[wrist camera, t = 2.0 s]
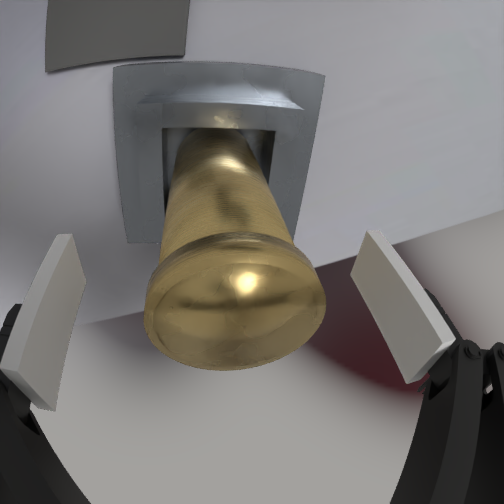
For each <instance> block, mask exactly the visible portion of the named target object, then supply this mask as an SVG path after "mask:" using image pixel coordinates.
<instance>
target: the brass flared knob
mask: <svg viewBox="0 0 504 504" xmlns="http://www.w3.org/2000/svg"><path fill="white" fill-rule="evenodd" d="M325 309H326V297H325V293H324V290H323V288H322V285H321V283H320V281H319V278H318V276H317V274H316V272H315V270H314V268H313V266H312V264H311V262H310V260H309V259H308V258H307V257H306V255H305V254H304V253H302V252H301V251H300V250H299V249H298V248H297V247H295V245H294V243H293V241H292V238H291V236H290V234H289V231H288V229H287V227H286V224H285V222H284V220H283V218H282V215H281V213H280V211H279V209H278V206H277V204H276V202H275V200H274V197H273V195H272V193H271V191H270V188H269V186H268V184H267V182H266V180H265V177H264V175H263V173H262V171H261V169H260V167H259V164H258V162H257V160H256V158H255V156H254V154H253V152H252V149H251V147H250V145H249V143H248V142H247V140H246V139H245V138H244V137H243V136H242V135H241V134H240V133H239V132H237V131H236V130H234V129H232V128H205V127H201V128H199V129H197V130H195V131H193V132H192V133H190V134H189V135H188V136H187V137H186V138H185V139H184V140H183V142H182V143H181V145H180V147H179V149H178V151H177V155H176V160H175V165H174V170H173V176H172V181H171V186H170V192H169V198H168V203H167V210H166V216H165V222H164V229H163V236H162V243H161V250H160V258H159V265H158V267H157V268H156V270H155V271H154V272H153V274H152V276H151V278H150V280H149V283H148V287H147V292H146V300H145V308H144V326H145V330H146V333H147V335H148V337H149V339H150V340H151V342H152V343H153V344H154V345H155V346H156V348H158V349H159V350H160V351H161V352H162V353H163V354H165V355H167V356H168V357H169V358H171V359H173V360H175V361H177V362H180V363H183V364H185V365H189V366H192V367H195V368H200V369H207V370H219V371H227V370H241V369H247V368H252V367H257V366H261V365H264V364H267V363H270V362H273V361H275V360H278V359H280V358H282V357H284V356H286V355H288V354H290V353H291V352H293V351H295V350H296V349H298V348H299V347H300V346H302V345H303V344H304V343H305V342H306V341H307V340H308V339H309V338H310V337H311V336H312V335H313V334H314V333H315V332H316V330H317V329H318V327H319V326H320V324H321V322H322V320H323V317H324V314H325Z"/></svg>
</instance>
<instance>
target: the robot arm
mask: <svg viewBox="0 0 504 504" xmlns="http://www.w3.org/2000/svg"><path fill="white" fill-rule="evenodd" d="M351 277H352V279H353V280H354V282H355V284H356V286H357V288H358V289H359V291H360V293H361V295H362V297H363V299H364V300H365V302H366V304H367V306H368V308H369V310H370V312H371V313H372V315H373V317H374V319H375V321H376V323H377V325H378V327H379V329H380V331H381V333H382V335H383V337H384V339H385V340H386V342H387V344H388V346H389V348H390V350H391V353H392V354H393V357H394V359H395V361H396V363H397V365H398V367H399V369H400V371H401V373H402V375H403V377H404V380H405V382H406V384H408V383H411V382H414V381H417V380H420V379H421V378H422V377H423V376H424V375H425V374H426V373H427V372H428V373H429V375H430V377H429V378H428V379H427V380H426V381H425V382H424V383H423V384H422V385H421V386H420V387H419V389H418V392H420V391H421V390H422V389H423V388H424V387H426V388H425V391H424V392H423V393H422V394H424V397H423V401H422V406H421V410H420V414H419V418H418V422H417V426H416V429H415V433H414V436H413V440H412V443H411V447H410V450H409V453H408V456H407V459H406V462H405V465H404V468H403V471H402V474H401V476H400V479H399V482H398V485H397V487H396V490H395V492H394V494H393V497H392V499H391V502H390V504H504V344H503V343H500V342H497V343H496V344H495V345H494V346H493V347H492V348H491V349H490V350H484V349H480V348H479V347H478V345H477V344H476V343H474V342H473V341H470V340H463V339H462V337H461V336H460V334H459V332H458V331H457V329H456V328H455V326H454V325H453V323H452V321H451V320H450V318H449V317H448V315H447V314H445V311H444V310H443V308H442V307H441V306H440V304H439V302H438V300H437V299H436V298H435V296H434V295H433V294H431V293H430V292H429V291H428V290H427V289H423V288H422V286H421V285H420V283H419V282H418V281H417V279H416V278H415V276H414V275H413V274H412V272H411V271H410V270H409V268H408V267H407V266H406V264H405V263H404V262H403V260H402V259H401V258H400V256H399V255H398V254H397V252H396V251H395V250H394V248H393V247H392V246H391V245H390V243H389V242H388V241H387V239H386V238H385V237H384V236H383V234H382V233H381V232H380V231H366V234H365V237H364V240H363V243H362V245H361V248H360V251H359V253H358V256H357V259H356V261H355V264H354V267H353V269H352V272H351ZM86 283H87V281H86V278H85V275H84V272H83V269H82V266H81V263H80V259H79V256H78V252H77V249H76V245H75V242H74V238H73V234H57V236H56V238H55V239H54V241H53V243H52V245H51V247H50V249H49V250H48V252H47V254H46V256H45V258H44V260H43V262H42V264H41V266H40V268H39V270H38V272H37V274H36V276H35V278H34V280H33V282H32V284H31V286H30V288H29V291H28V293H27V295H26V297H25V299H24V302H23V304H15V305H14V306H13V307H12V309H11V310H10V311H9V312H8V313H7V316H6V318H5V321H4V323H3V327H2V328H1V330H0V504H91V503H90V502H89V501H88V499H87V498H86V497H85V496H84V494H83V493H82V492H81V490H80V489H79V488H78V486H77V485H76V484H75V482H74V481H73V479H72V478H71V476H70V475H69V473H68V472H67V471H66V469H65V468H64V466H63V465H62V463H61V462H60V460H59V458H58V457H57V455H56V454H55V452H54V450H53V449H52V447H51V445H50V444H49V442H48V440H47V438H46V437H45V435H44V433H43V431H42V430H41V428H40V426H39V424H38V422H37V420H36V418H35V416H34V414H33V413H32V411H31V410H30V404H31V402H32V403H33V404H34V405H35V406H36V407H37V408H40V409H44V410H50V411H55V410H56V404H57V398H58V392H59V386H60V381H61V376H62V370H63V366H64V362H65V357H66V353H67V349H68V345H69V341H70V337H71V333H72V329H73V326H74V322H75V318H76V315H77V311H78V308H79V305H80V301H81V298H82V295H83V292H84V289H85V286H86ZM491 384H492V387H493V390H492V391H490V392H489V393H488V394H487V392H486V388H487V387H488V386H490V385H491Z"/></svg>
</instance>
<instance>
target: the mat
mask: <svg viewBox="0 0 504 504" xmlns="http://www.w3.org/2000/svg"><path fill="white" fill-rule="evenodd" d="M189 4H190V0H48V9H47V22H46V41H45V72H49V71H53V70H58V69H62V68H67V67H72V66H77V65H83V64H89V63H95V62H101V61H109V60H117V59H126V58H136V57H149V56H170V55H185V46H186V34H187V23H188V13H189Z"/></svg>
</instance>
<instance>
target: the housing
mask: <svg viewBox="0 0 504 504" xmlns="http://www.w3.org/2000/svg"><path fill="white" fill-rule="evenodd" d="M324 82H325V76H324V75H321V74H317V73H314V72H310V71H304V70H297V69H291V68H284V67H276V66H267V65H258V64H246V63H232V62H207V61H176V62H152V63H138V64H127V65H121V66H117V67H113V107H114V129H115V145H116V157H117V168H118V178H119V186H120V195H121V202H122V210H123V217H124V223H125V230H126V236H127V241H128V243H162V236H163V229H164V222H165V216H166V210H167V203H168V198H169V192H170V186H171V181H172V176H173V170H174V165H175V160H176V155H177V151H178V149H179V147H180V145H181V143H182V142H183V140H184V139H185V138H186V137H187V136H188V135H189V134H190V133H192V132H193V131H195V130H197V129H199V128H201V127H205V128H232V129H234V130H236V131H237V132H239V133H240V134H241V135H242V136H243V137H244V138H245V139H246V140H247V142H248V143H249V145H250V147H251V149H252V152H253V154H254V156H255V158H256V160H257V162H258V164H259V167H260V169H261V171H262V173H263V175H264V177H265V180H266V182H267V184H268V186H269V188H270V191H271V193H272V195H273V197H274V200H275V202H276V204H277V206H278V209H279V211H280V213H281V215H282V218H283V220H284V222H285V224H286V227H287V229H288V231H289V234H290V236H291V238H292V241H293V239H294V234H295V230H296V225H297V221H298V216H299V211H300V207H301V202H302V197H303V193H304V188H305V183H306V178H307V173H308V168H309V163H310V158H311V153H312V148H313V143H314V137H315V132H316V127H317V121H318V116H319V110H320V105H321V99H322V93H323V87H324Z"/></svg>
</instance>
